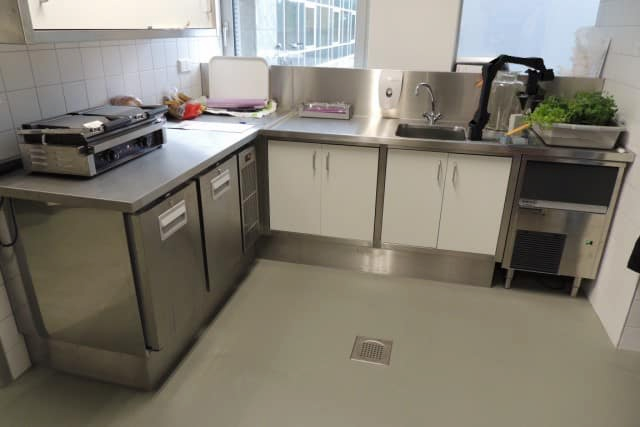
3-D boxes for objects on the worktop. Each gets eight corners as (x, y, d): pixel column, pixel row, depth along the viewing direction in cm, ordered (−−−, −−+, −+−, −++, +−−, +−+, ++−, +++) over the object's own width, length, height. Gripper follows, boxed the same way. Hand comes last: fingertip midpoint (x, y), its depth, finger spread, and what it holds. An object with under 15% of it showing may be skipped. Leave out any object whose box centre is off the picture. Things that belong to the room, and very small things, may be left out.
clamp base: (507, 146, 239) (509, 136, 237) (497, 141, 249) (498, 131, 247) (536, 145, 241) (538, 135, 239) (525, 141, 251) (527, 130, 249)
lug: (528, 145, 241) (530, 136, 239) (526, 144, 243) (527, 135, 241) (532, 145, 241) (534, 136, 239) (529, 144, 244) (531, 135, 242)
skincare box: (511, 137, 259) (515, 115, 254) (506, 135, 263) (510, 114, 258) (521, 137, 260) (525, 115, 256) (516, 135, 264) (520, 113, 260)
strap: (506, 137, 241) (505, 135, 241) (503, 136, 244) (502, 134, 243) (530, 126, 241) (529, 124, 240) (527, 125, 243) (526, 123, 243)
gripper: (557, 84, 238) (551, 114, 244) (537, 80, 255) (531, 108, 261) (536, 84, 237) (531, 115, 243) (518, 80, 254) (513, 109, 260)
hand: (527, 111), depth 252 cm, fingers open, 9 cm apart
